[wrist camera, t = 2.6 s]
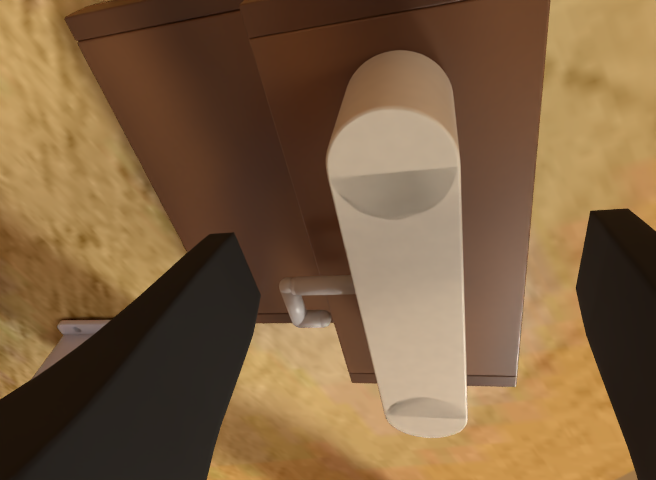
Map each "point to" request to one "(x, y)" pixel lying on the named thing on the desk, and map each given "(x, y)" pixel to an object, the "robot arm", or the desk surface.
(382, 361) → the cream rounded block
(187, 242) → the stepped wooden block
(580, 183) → the desk surface
